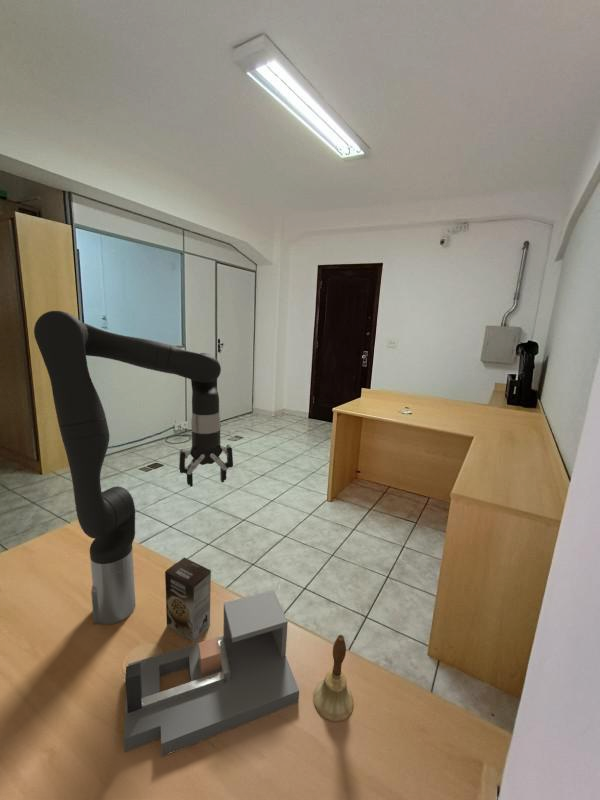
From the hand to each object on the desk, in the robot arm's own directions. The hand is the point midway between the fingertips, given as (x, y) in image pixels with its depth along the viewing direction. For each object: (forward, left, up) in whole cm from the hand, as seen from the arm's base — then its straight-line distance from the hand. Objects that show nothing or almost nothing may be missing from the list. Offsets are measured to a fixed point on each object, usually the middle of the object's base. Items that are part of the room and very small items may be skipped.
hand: (206, 483), depth 98 cm
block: (-4, -31, -27) cm, 41 cm away
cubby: (-4, -34, -30) cm, 45 cm away
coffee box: (-7, -16, -30) cm, 35 cm away
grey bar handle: (-10, -32, -27) cm, 43 cm away
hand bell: (+19, -44, -30) cm, 57 cm away
